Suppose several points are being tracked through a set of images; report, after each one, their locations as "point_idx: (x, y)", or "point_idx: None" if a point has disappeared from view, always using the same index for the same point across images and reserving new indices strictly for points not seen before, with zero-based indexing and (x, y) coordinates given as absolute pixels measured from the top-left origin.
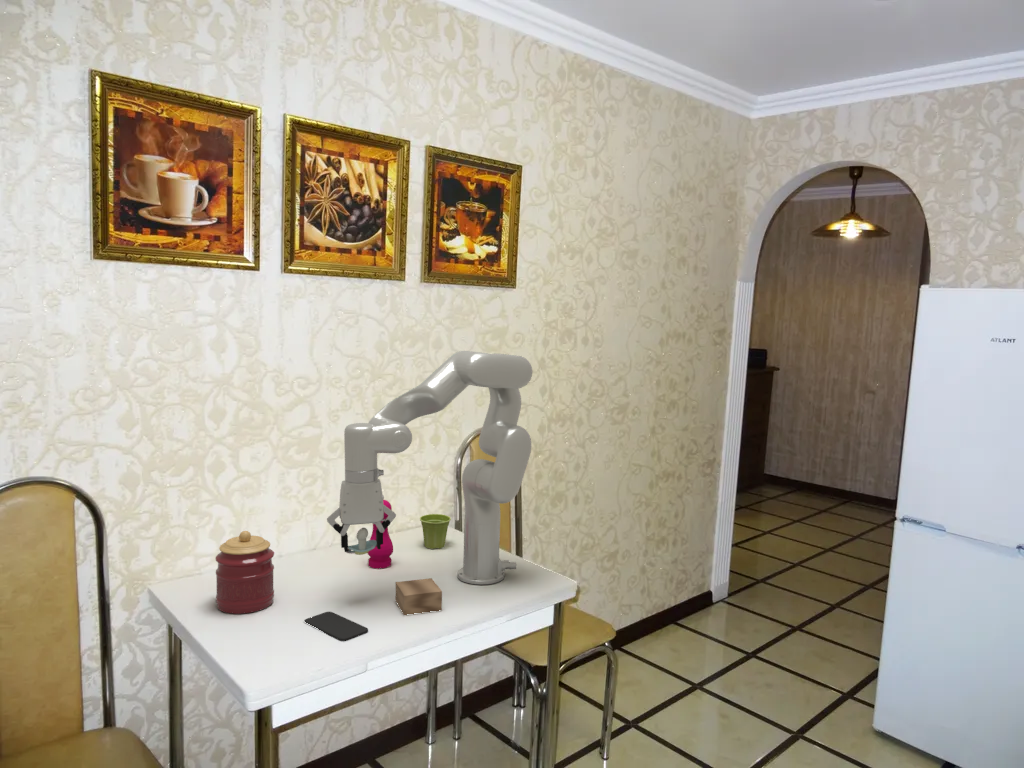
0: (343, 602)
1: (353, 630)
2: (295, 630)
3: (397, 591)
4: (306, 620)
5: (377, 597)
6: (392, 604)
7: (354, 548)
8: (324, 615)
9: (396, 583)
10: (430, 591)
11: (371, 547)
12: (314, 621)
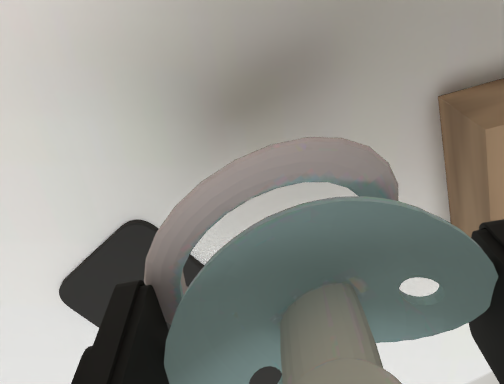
0: (178, 106)
1: (263, 371)
2: (55, 350)
3: (470, 159)
4: (68, 298)
5: (349, 43)
6: (418, 136)
7: (236, 317)
8: (127, 260)
9: (486, 150)
10: None
11: (413, 311)
12: (103, 306)
